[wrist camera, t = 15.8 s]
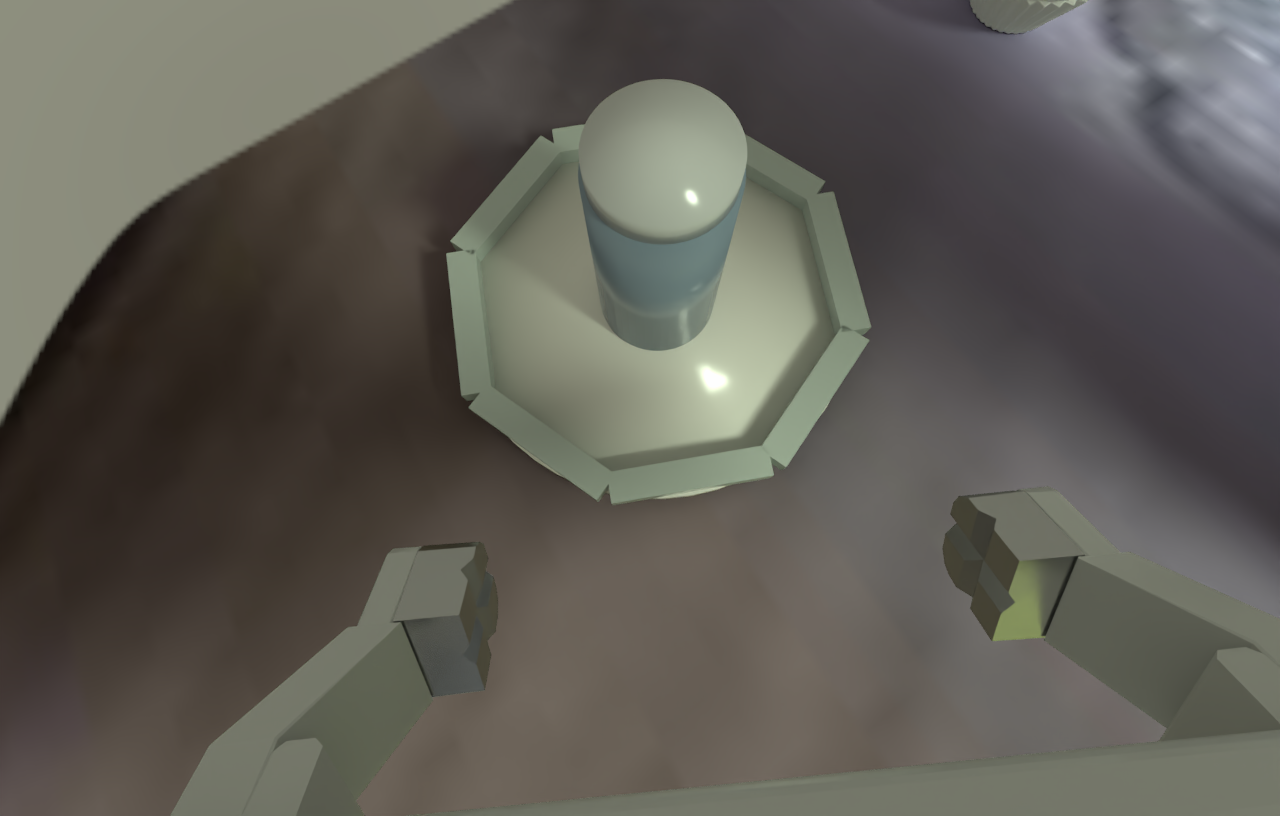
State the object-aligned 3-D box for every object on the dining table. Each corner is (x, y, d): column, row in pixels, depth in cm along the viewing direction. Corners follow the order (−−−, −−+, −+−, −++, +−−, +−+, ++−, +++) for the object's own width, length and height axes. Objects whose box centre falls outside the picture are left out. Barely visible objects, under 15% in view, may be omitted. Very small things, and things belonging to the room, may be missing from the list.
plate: (796, 119, 24) (807, 87, 23) (889, 462, 21) (910, 454, 19) (447, 173, 24) (432, 145, 22) (486, 532, 21) (472, 530, 19)
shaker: (702, 237, 22) (731, 63, 14) (724, 340, 21) (769, 214, 13) (592, 255, 22) (562, 89, 14) (610, 359, 21) (588, 243, 13)
